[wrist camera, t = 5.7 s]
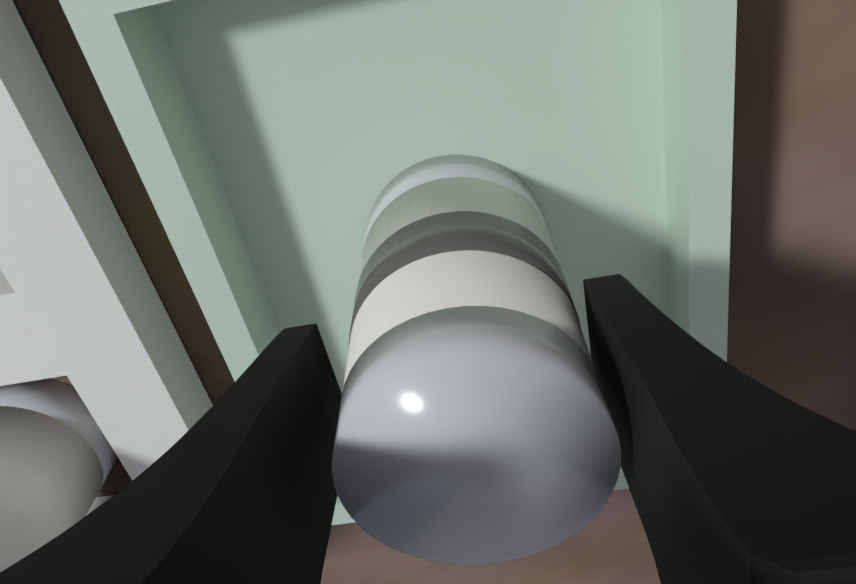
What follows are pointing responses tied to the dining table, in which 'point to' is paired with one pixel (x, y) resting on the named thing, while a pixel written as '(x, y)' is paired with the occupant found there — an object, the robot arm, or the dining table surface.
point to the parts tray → (421, 141)
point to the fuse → (46, 464)
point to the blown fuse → (468, 376)
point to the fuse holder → (79, 275)
